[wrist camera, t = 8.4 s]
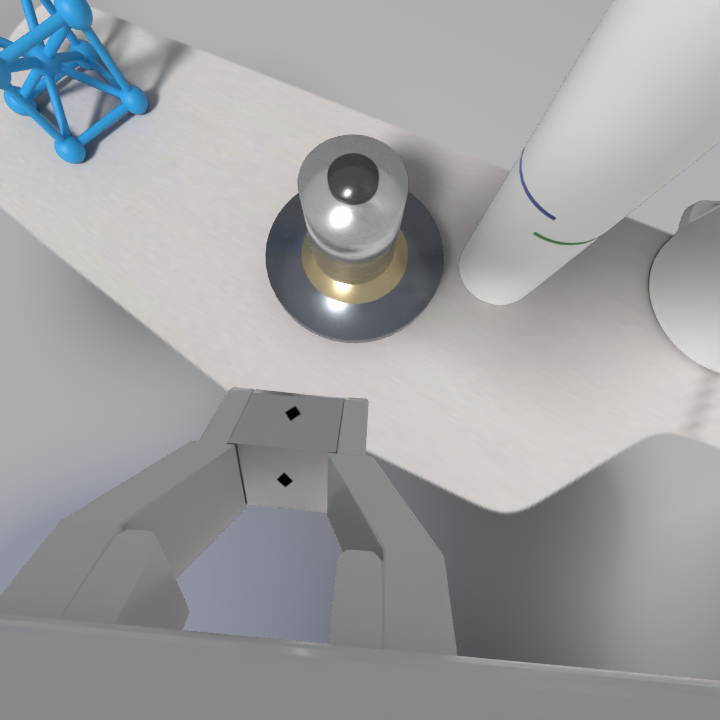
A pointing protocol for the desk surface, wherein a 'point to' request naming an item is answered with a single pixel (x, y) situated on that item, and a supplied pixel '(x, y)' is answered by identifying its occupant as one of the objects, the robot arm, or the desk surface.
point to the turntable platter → (362, 301)
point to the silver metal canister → (353, 206)
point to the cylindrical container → (602, 143)
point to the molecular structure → (63, 72)
